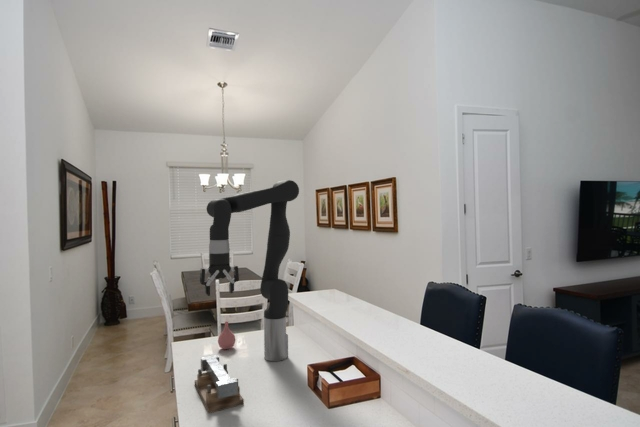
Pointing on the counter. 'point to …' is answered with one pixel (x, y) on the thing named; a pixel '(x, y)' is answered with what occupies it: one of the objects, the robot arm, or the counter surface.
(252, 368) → the counter surface
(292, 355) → the counter surface
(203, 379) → the rack
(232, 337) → the pink teardrop shape
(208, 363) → the grey flared end bar
